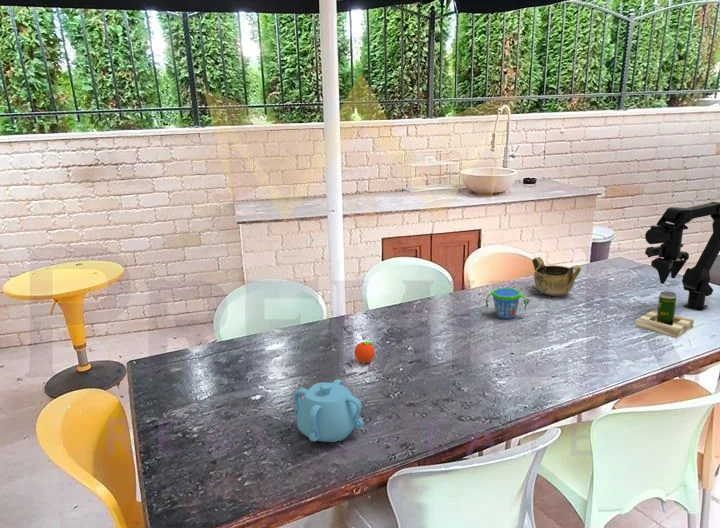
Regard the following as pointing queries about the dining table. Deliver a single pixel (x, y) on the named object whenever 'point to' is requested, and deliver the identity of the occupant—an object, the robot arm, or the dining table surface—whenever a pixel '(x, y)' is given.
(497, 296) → the snack cup
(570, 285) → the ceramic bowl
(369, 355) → the clementine
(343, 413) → the decorative pot
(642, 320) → the birch tray
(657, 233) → the robot arm
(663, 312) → the beer can
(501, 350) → the dining table surface
